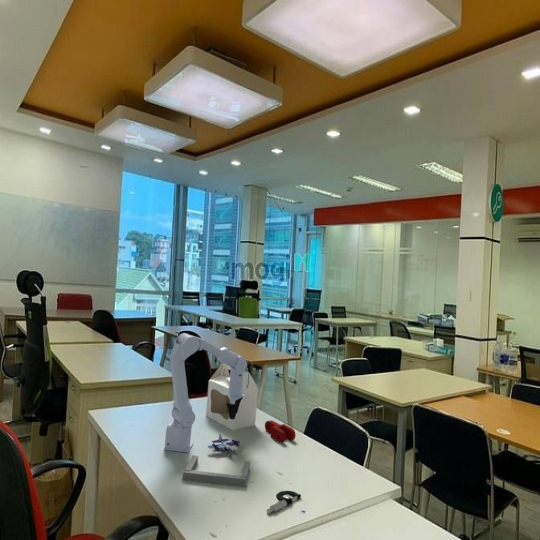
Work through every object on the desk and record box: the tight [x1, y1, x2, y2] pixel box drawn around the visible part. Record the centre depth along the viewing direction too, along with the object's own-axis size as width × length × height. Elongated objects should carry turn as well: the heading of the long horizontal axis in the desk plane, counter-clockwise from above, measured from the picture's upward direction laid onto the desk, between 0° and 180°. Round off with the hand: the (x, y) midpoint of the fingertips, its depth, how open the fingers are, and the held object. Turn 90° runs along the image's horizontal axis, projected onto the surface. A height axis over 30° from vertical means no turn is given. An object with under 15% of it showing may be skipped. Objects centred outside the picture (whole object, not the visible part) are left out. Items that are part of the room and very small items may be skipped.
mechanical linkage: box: [264, 420, 296, 444], centre depth 176 cm, size 16×7×5 cm, turn 36°
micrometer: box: [266, 490, 302, 515], centre depth 124 cm, size 15×7×2 cm, turn 136°
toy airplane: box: [207, 433, 241, 458], centre depth 156 cm, size 13×14×4 cm
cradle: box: [182, 455, 251, 488], centre depth 138 cm, size 21×13×2 cm, turn 87°
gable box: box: [205, 362, 259, 431], centre depth 191 cm, size 22×13×28 cm, turn 43°
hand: (233, 416), depth 170 cm, fingers open, 7 cm apart
